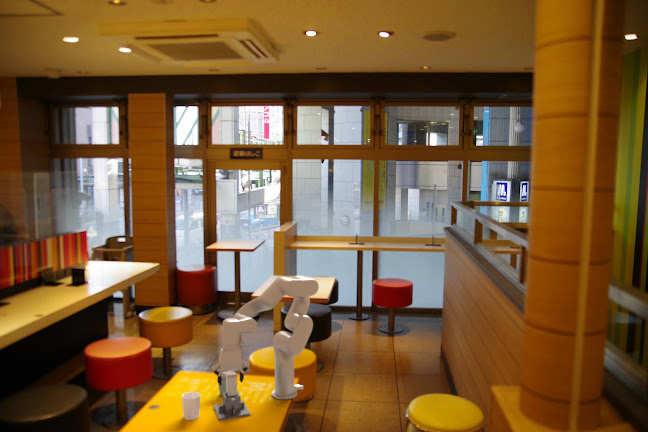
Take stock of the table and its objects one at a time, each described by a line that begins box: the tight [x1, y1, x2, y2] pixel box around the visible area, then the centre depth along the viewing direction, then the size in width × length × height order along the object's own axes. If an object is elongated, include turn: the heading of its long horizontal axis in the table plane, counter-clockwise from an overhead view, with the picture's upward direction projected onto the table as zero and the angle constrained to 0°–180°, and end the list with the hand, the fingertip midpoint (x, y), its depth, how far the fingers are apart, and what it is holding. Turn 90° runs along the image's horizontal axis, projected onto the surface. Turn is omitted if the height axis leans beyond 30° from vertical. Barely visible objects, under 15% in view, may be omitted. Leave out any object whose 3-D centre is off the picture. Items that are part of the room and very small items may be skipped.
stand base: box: [213, 390, 251, 421], centre depth 237 cm, size 14×14×8 cm
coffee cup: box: [217, 368, 235, 397], centre depth 256 cm, size 8×8×12 cm
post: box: [225, 372, 238, 398], centre depth 237 cm, size 5×5×16 cm
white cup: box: [181, 391, 201, 421], centre depth 232 cm, size 8×8×10 cm
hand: (230, 382), depth 236 cm, fingers open, 9 cm apart
